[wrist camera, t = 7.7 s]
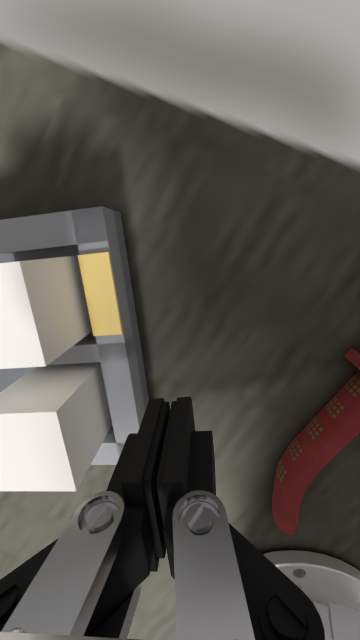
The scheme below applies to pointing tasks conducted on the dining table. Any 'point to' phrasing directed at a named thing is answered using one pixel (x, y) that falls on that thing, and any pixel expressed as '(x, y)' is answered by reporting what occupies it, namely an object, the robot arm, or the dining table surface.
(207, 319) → the dining table surface
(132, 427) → the switch bank
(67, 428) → the tab
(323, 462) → the pliers
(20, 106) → the dining table surface
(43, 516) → the dining table surface
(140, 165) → the dining table surface
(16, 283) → the tab
